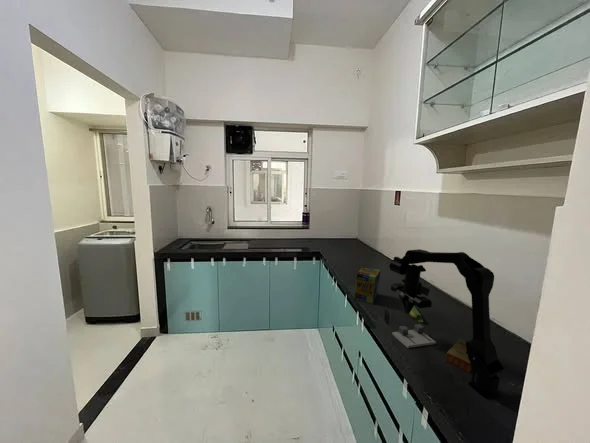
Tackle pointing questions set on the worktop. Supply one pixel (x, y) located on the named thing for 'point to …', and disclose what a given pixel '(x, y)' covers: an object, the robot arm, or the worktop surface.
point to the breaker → (418, 328)
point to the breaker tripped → (403, 330)
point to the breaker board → (414, 339)
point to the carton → (459, 356)
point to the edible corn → (415, 314)
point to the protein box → (367, 284)
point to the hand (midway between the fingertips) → (407, 313)
